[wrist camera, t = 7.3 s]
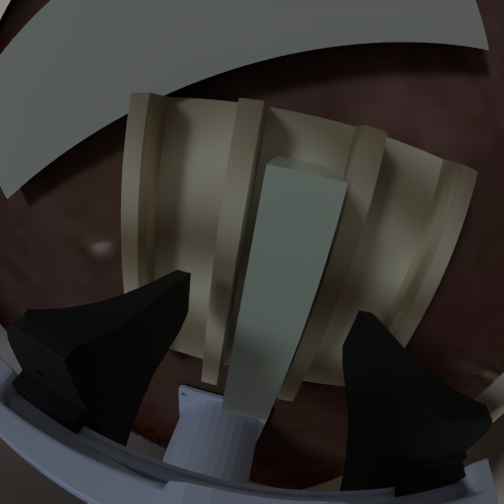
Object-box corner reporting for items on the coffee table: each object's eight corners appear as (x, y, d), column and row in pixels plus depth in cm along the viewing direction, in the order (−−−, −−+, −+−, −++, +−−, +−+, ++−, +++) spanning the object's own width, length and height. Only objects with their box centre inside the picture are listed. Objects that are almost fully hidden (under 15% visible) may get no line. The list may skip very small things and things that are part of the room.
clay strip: (275, 357, 17) (266, 420, 12) (238, 349, 17) (221, 410, 13) (328, 166, 12) (347, 183, 7) (277, 154, 12) (266, 164, 8)
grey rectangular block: (446, 46, 11) (402, -68, 5) (488, 50, 7) (430, -88, 1) (40, 173, 19) (5, 88, 13) (7, 199, 15) (-32, 103, 9)
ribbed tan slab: (363, 378, 18) (367, 409, 15) (144, 330, 19) (126, 355, 17) (454, 166, 12) (484, 175, 9) (152, 98, 13) (122, 93, 10)
